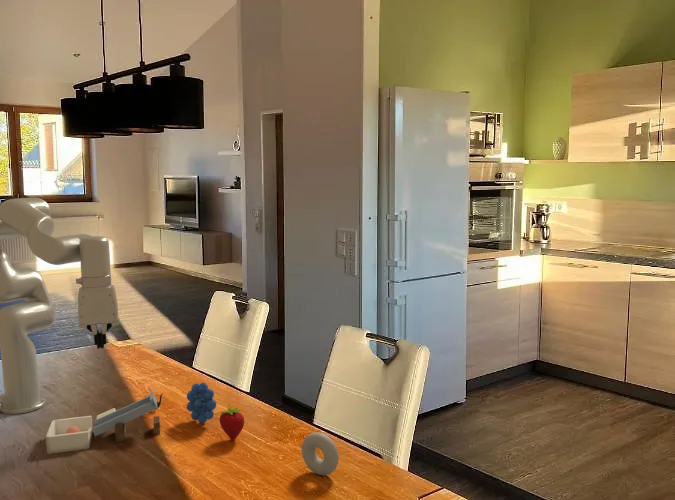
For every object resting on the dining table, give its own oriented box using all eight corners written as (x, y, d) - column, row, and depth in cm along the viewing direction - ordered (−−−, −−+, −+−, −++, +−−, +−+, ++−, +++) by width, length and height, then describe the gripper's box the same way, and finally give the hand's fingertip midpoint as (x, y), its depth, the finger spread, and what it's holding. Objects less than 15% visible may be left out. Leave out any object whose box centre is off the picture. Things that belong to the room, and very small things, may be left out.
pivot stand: (115, 442, 171) (114, 424, 171) (116, 431, 178) (115, 414, 178) (124, 441, 172) (123, 423, 171) (125, 430, 179) (124, 413, 178)
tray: (47, 454, 165) (45, 437, 164) (53, 435, 176) (52, 420, 176) (89, 448, 168) (87, 432, 167) (92, 430, 179) (91, 415, 179)
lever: (95, 438, 171) (90, 426, 170) (99, 420, 183) (94, 409, 183) (158, 410, 174) (152, 398, 174) (157, 394, 187) (152, 383, 186)
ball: (64, 442, 170) (65, 429, 170) (66, 437, 173) (66, 424, 173) (79, 442, 171) (79, 429, 171) (80, 436, 174) (80, 424, 174)
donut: (299, 471, 152) (297, 430, 151) (308, 466, 155) (307, 425, 154) (333, 483, 146) (332, 440, 145) (342, 477, 149) (341, 435, 148)
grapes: (227, 422, 183) (226, 381, 181) (209, 430, 177) (207, 388, 176) (200, 414, 190) (198, 374, 188) (181, 421, 184) (179, 380, 183)
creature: (131, 418, 191) (155, 414, 189) (127, 401, 190) (150, 396, 188) (145, 408, 198) (168, 404, 196) (141, 391, 198) (164, 387, 196)
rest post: (154, 434, 176) (153, 423, 175) (154, 427, 180) (153, 416, 180) (160, 434, 176) (159, 422, 176) (160, 427, 181) (159, 416, 180)
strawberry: (231, 447, 166) (229, 410, 165) (215, 439, 172) (213, 403, 170) (250, 440, 170) (248, 404, 169) (233, 432, 176) (232, 397, 174)
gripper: (65, 286, 172) (70, 353, 174) (124, 282, 176) (128, 348, 178) (68, 281, 179) (73, 346, 181) (125, 278, 183) (129, 341, 185)
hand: (100, 347), depth 180 cm, fingers closed
